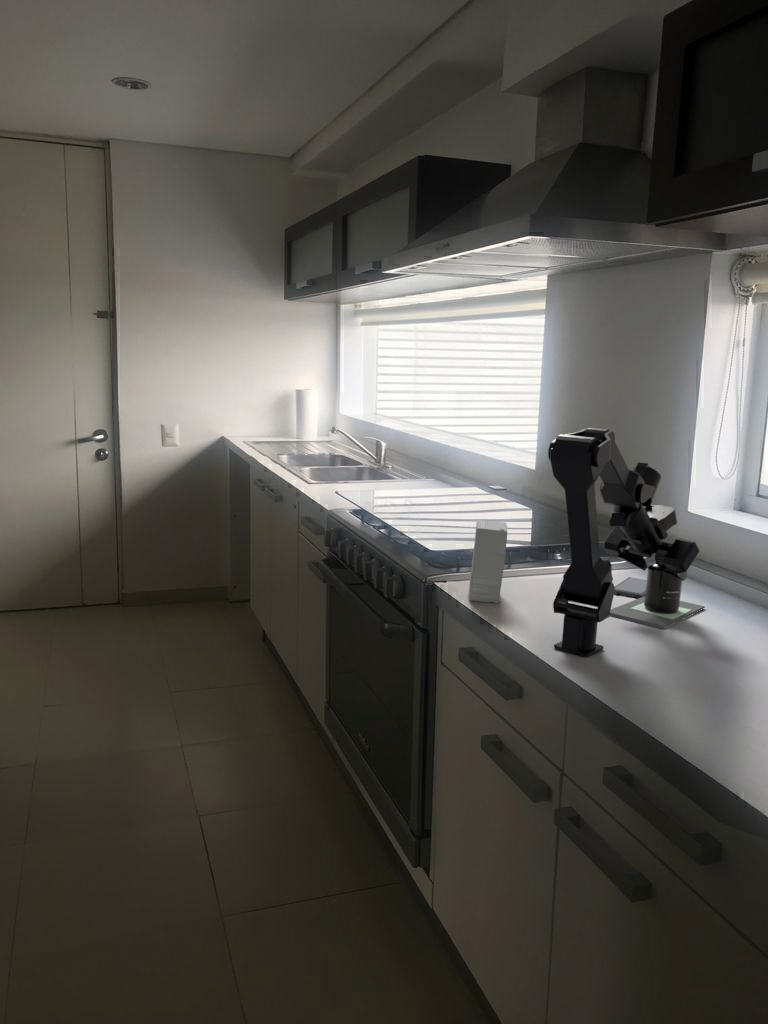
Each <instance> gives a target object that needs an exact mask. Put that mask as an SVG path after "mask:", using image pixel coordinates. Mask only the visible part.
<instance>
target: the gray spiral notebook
mask: <svg viewBox="0 0 768 1024" xmlns="http://www.w3.org/2000/svg"><path fill="white" fill-rule="evenodd" d="M644 600H645V596H644V597H641V598H635V599H634V600H631V601H629V602H626V603H624V604H621V605H619V606H617V607H614V608H611V610H610V615H609V617H610V616H611V617H615V618H618V619H621V620H622V619H624V620H627V621H631V622H634V623H638V624H643V625H646V626H650V627H653V628H654V627H655V628H658V629H661V630H663V629H665V628H667V627H669V626H671V625H674V624H676V623H679V622H680V621H682V620H684V619H683V618H685V619H686V617H687V618H689V617H691V616H692V614H693V615H695V614H697V613H698V612H697V611H699V610H701V609H703V608H705V607H706V606H705V605H700V604H697V603H693V602H688V601H682V600H680V604H679V610H678V611H677V612H676V613H670V614H667V613H658V612H654V611H650V610H648V609H646V608H645V606H644ZM696 612H697V613H696ZM699 612H700V611H699ZM694 613H695V614H694ZM690 615H691V616H690ZM688 616H689V617H688Z"/></svg>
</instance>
